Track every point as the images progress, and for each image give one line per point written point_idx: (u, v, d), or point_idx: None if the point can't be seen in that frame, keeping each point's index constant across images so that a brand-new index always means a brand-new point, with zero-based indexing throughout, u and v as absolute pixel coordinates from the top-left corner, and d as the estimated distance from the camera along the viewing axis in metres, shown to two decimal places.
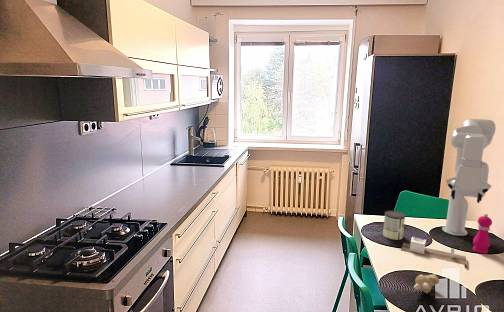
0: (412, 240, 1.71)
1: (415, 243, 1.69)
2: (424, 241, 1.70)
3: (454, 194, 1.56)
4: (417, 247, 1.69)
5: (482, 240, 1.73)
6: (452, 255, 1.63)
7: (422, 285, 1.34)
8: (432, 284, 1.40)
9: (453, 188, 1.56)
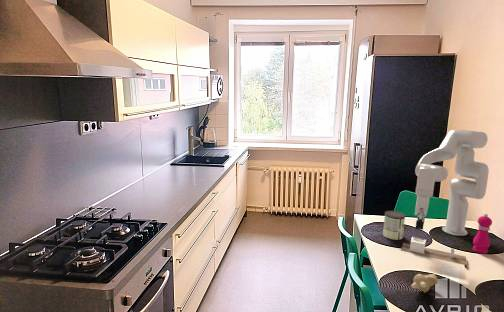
0: (412, 240, 1.71)
1: (415, 243, 1.69)
2: (424, 241, 1.70)
3: (423, 224, 1.64)
4: (417, 247, 1.69)
5: (482, 240, 1.73)
6: (452, 255, 1.63)
7: (419, 284, 1.35)
8: (431, 284, 1.40)
9: (423, 219, 1.63)
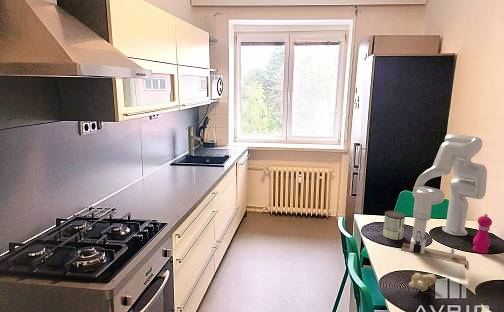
0: (412, 240, 1.71)
1: None
2: (424, 241, 1.70)
3: None
4: None
5: (481, 240, 1.73)
6: (452, 255, 1.63)
7: (417, 283, 1.36)
8: (430, 283, 1.40)
9: (420, 243, 1.67)
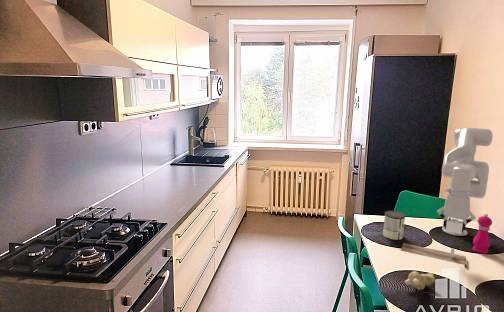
0: (459, 222, 1.59)
1: (462, 223, 1.60)
2: (454, 218, 1.65)
3: None
4: None
5: (482, 240, 1.73)
6: (452, 255, 1.63)
7: (413, 281, 1.37)
8: (428, 282, 1.41)
9: None
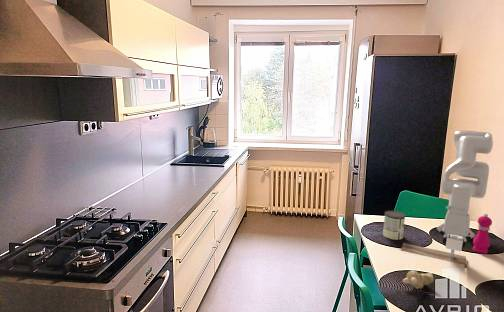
0: (458, 240, 1.60)
1: None
2: (453, 235, 1.66)
3: None
4: None
5: (481, 240, 1.73)
6: (452, 255, 1.63)
7: (410, 279, 1.38)
8: (427, 282, 1.41)
9: None
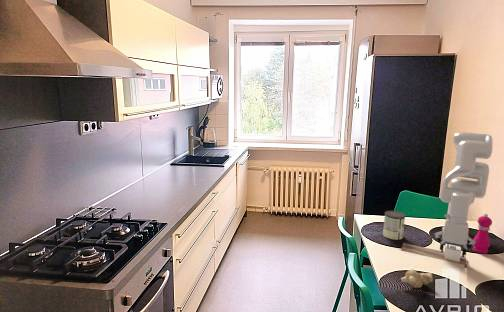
0: (457, 250, 1.61)
1: (460, 251, 1.62)
2: (452, 245, 1.67)
3: None
4: None
5: (482, 240, 1.73)
6: None
7: (408, 278, 1.39)
8: (426, 281, 1.42)
9: (465, 245, 1.63)
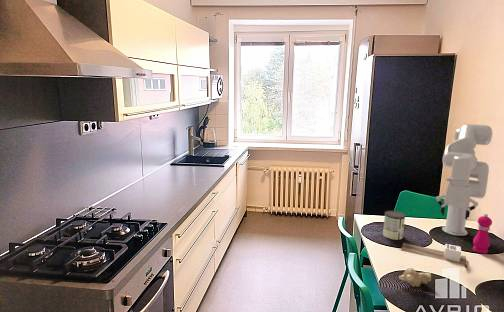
0: (457, 250, 1.61)
1: (460, 251, 1.62)
2: (452, 245, 1.67)
3: None
4: None
5: (482, 240, 1.73)
6: None
7: (406, 276, 1.40)
8: (425, 281, 1.42)
9: None
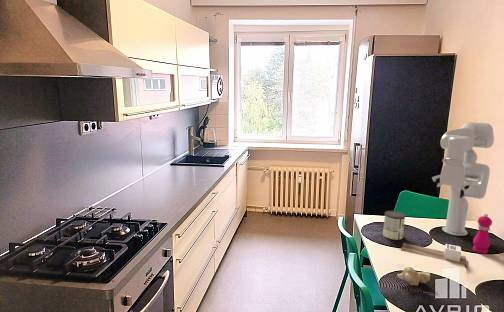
0: (457, 250, 1.61)
1: (460, 251, 1.62)
2: (452, 245, 1.67)
3: (460, 192, 1.71)
4: None
5: (482, 240, 1.73)
6: None
7: (404, 275, 1.41)
8: (424, 280, 1.42)
9: None
